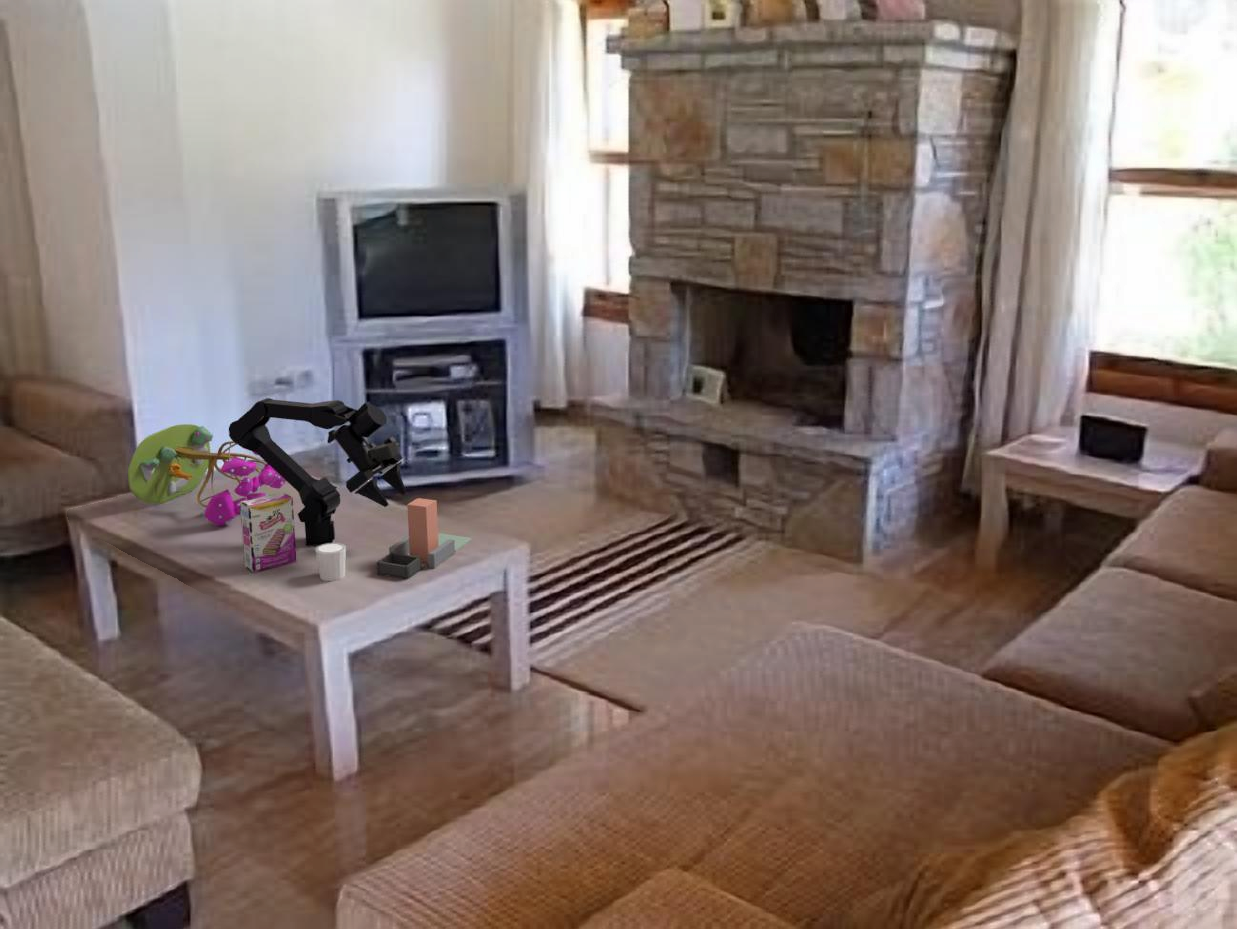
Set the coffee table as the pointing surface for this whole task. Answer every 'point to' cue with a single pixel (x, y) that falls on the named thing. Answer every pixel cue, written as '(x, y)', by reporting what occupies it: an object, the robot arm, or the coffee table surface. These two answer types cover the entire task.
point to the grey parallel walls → (434, 556)
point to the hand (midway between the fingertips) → (396, 499)
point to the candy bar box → (268, 531)
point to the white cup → (331, 561)
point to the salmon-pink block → (422, 527)
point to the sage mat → (458, 540)
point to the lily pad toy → (194, 471)
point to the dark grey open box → (399, 565)
